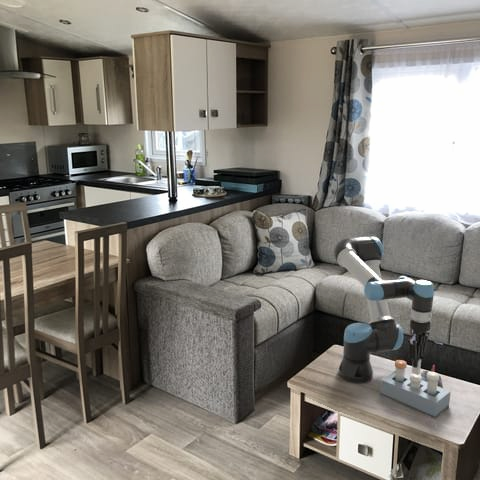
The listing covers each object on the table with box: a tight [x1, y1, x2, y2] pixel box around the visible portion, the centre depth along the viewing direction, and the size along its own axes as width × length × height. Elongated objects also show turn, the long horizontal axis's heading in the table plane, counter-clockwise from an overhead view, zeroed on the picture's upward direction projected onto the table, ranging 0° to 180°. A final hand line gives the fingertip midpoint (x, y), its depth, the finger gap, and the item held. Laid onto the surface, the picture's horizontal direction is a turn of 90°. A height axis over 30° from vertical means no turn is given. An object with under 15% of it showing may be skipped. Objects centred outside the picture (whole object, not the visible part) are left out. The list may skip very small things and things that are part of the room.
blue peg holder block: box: [379, 370, 451, 420], centre depth 206 cm, size 24×12×7 cm, turn 43°
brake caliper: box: [420, 364, 444, 388], centre depth 216 cm, size 11×11×12 cm
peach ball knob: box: [394, 359, 408, 383], centre depth 209 cm, size 5×5×9 cm
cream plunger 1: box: [409, 373, 422, 390], centre depth 205 cm, size 5×5×9 cm
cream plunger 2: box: [427, 371, 440, 397], centre depth 200 cm, size 5×5×9 cm
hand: (415, 373), depth 204 cm, fingers closed
